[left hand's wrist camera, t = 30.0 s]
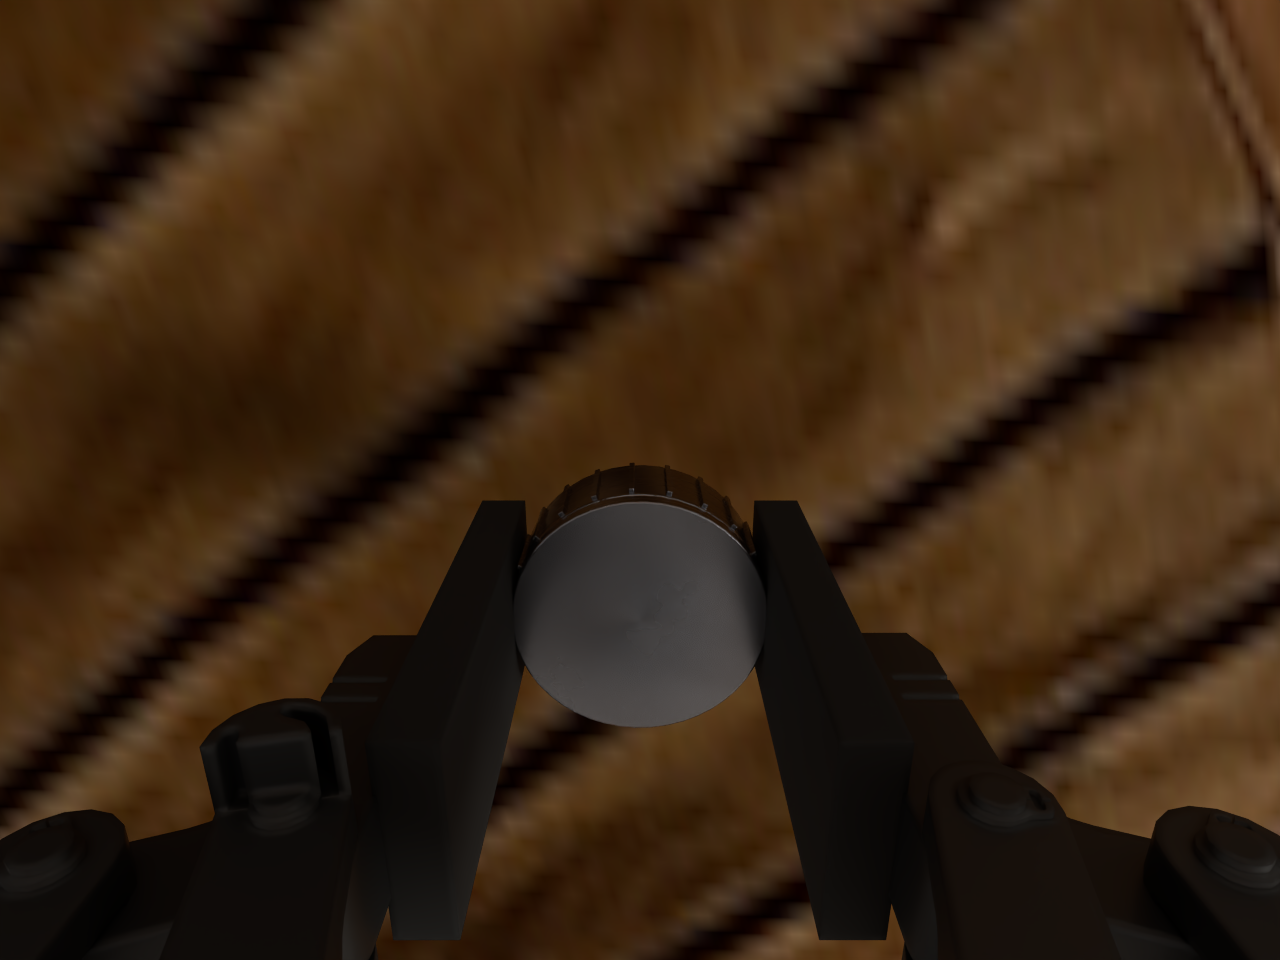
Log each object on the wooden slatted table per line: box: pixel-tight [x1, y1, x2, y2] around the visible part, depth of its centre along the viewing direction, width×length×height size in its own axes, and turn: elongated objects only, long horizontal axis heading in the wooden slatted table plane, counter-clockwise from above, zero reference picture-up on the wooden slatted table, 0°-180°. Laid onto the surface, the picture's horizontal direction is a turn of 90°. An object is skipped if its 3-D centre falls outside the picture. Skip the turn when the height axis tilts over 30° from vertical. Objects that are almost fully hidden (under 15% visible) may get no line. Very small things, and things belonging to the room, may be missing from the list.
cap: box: [513, 463, 767, 728], centre depth 14 cm, size 4×4×2 cm
